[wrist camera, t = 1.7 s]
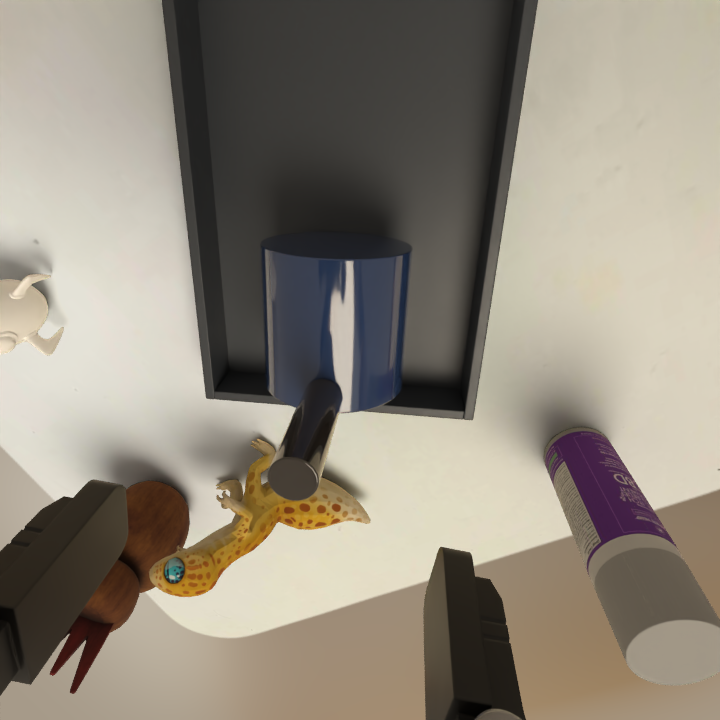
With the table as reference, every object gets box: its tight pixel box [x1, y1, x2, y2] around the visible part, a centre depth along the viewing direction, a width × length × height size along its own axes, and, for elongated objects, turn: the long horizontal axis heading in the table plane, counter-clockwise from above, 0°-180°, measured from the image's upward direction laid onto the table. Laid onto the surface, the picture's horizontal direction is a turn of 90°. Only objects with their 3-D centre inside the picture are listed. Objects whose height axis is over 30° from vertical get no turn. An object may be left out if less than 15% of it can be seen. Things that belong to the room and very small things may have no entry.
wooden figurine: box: [50, 481, 190, 694], centre depth 34 cm, size 7×6×15 cm
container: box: [544, 427, 720, 685], centre depth 29 cm, size 5×5×15 cm
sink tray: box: [162, 0, 538, 420], centre depth 27 cm, size 17×28×4 cm, turn 178°
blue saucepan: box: [260, 232, 413, 501], centre depth 24 cm, size 15×8×8 cm
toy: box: [149, 439, 370, 597], centre depth 35 cm, size 7×15×10 cm, turn 82°
